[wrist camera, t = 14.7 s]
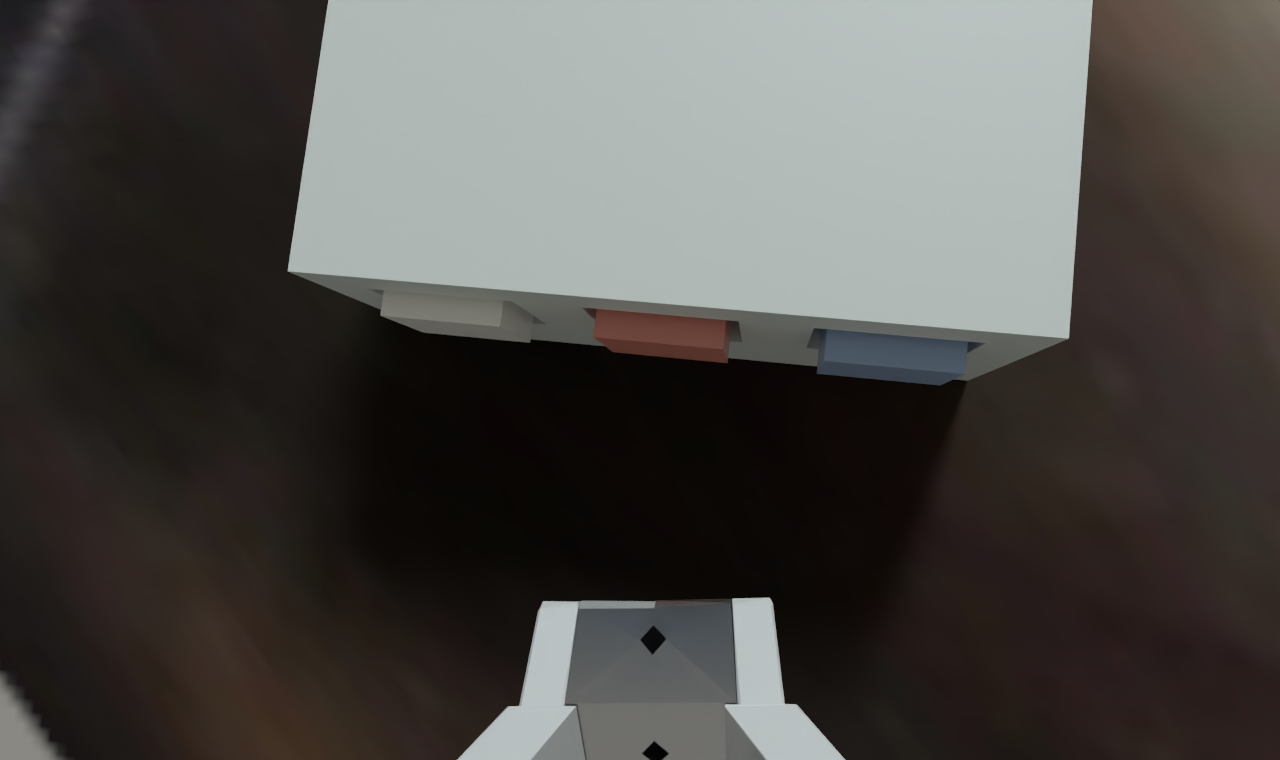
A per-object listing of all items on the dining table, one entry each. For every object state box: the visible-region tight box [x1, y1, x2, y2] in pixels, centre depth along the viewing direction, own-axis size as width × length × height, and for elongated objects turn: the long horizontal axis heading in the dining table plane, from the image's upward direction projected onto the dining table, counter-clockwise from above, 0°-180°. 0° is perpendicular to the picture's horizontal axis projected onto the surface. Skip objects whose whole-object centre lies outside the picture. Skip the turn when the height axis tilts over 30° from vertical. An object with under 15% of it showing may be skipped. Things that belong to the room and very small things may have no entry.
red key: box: [593, 309, 732, 363], centre depth 28 cm, size 4×3×4 cm
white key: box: [380, 290, 533, 343], centre depth 29 cm, size 4×3×4 cm
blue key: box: [817, 329, 968, 385], centre depth 27 cm, size 4×3×4 cm
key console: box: [288, 0, 1093, 381], centre depth 30 cm, size 22×10×11 cm, turn 83°
